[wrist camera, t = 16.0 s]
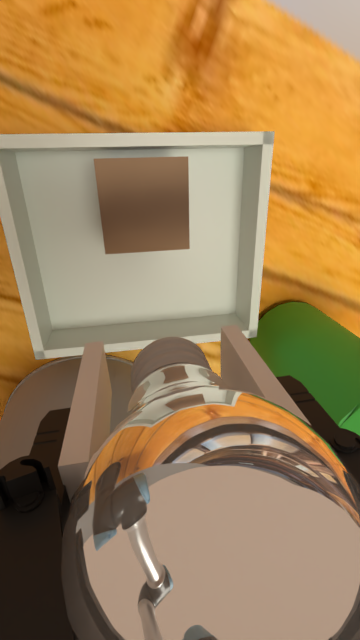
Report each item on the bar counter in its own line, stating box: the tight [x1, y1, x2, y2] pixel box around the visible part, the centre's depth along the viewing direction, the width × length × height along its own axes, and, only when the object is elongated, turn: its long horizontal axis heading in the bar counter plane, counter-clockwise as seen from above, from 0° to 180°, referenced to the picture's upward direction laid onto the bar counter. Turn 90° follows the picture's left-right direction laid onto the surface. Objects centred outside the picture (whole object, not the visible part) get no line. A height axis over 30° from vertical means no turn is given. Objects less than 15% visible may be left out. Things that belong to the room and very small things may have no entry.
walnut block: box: [94, 156, 190, 254], centre depth 24 cm, size 6×6×6 cm
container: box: [0, 355, 134, 469], centre depth 30 cm, size 19×19×15 cm
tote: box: [0, 132, 274, 360], centre depth 27 cm, size 20×17×4 cm
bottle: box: [250, 302, 360, 436], centre depth 25 cm, size 9×9×25 cm
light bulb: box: [61, 337, 360, 640], centre depth 10 cm, size 7×7×12 cm
